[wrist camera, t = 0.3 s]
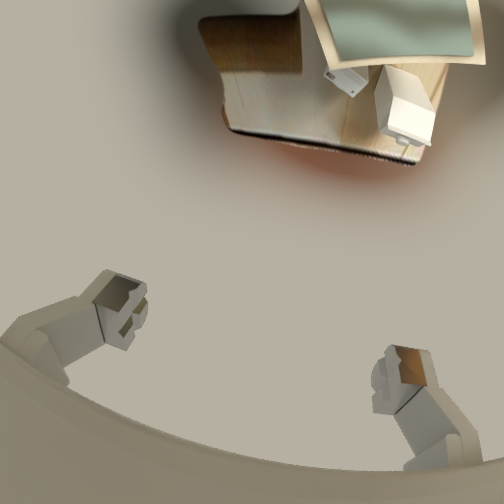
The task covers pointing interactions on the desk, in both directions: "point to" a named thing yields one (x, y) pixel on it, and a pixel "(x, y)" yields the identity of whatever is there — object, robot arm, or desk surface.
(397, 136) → the milk carton
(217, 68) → the desk surface
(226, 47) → the desk surface
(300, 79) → the desk surface
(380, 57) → the birch stand
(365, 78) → the skincare box
